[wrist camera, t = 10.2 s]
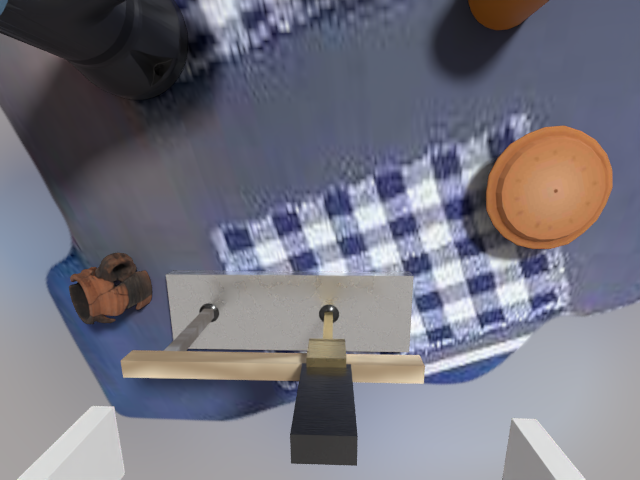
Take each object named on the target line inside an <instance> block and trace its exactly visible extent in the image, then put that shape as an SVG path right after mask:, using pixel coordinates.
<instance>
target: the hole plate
mask: <svg viewBox="0 0 640 480" xmlns="http://www.w3.org/2000/svg"><path fill="white" fill-rule="evenodd" d="M166 279H167V288H168V296H169V305H170V314H171V322H172V331H173V340H175V339H176V338H177V336H178V335H179V334H180V333H181V332H182V331H183V330H184V329H185V328H186V327H187V326H188V325H189V324H190V323H191V322H192V321H193V320H194V319H195V318H196V317H197V316H198V315H199V314H200V312H201V311H202V310H203V309H213V310H214V318H213V319H212V321H211V322H210V323H209V324H208V325H207V327H206V328H205V329H204V330H203V331H202V333H201V334H200V335H199V336H198V337H197V339H196V340H195V341H194V342H193V343H192V345H191V346H190V347H189V348H188V349H246V350H306V351H307V350H308V344H309V338H316V339H323V328H324V313H325V312H333V339H345V346H346V351H367V352H409V344H410V326H411V308H412V290H413V275H412V274H411V272H386V271H192V270H173V271H171V272H169V273H168V274H166Z"/></svg>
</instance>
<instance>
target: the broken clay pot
mask: <svg viewBox="0 0 640 480" xmlns="http://www.w3.org/2000/svg"><path fill="white" fill-rule="evenodd" d="M135 271H136V265H135V264H134V263H133V260H132V258H131V257H129V256H128V255H127V254H124V253H113V254H110V255H108V256H106V257H105V258H104V259H103V260H102V262H101V264H100V266H99V267H98V268H96V267H91V268H89V269H85V270H82V271H81V273H79V274H73V275H72V276H71V277H70V279H71V282H74V281H77V282H78V283H77V284H73V285H70V286H69V290H70V296H71V300H72V303H73V305H74V307H75V310H76V312H77V314H78V316H79V317H80V318H81V320H82V321H83V322H84V323H86V324H94V322H95V321H97V322H101V323H112V322H114V321H115V319H110V318H108V317H106V316H105V315H109V316H118V315H120V314H122V313H123V312H124V311H125V309H128V308H130V307H132V306H134V305H136V304H137V306H136V309H137V310H139V309H141V308H142V307H144V306H145V305H147V304H149V303H150V301H151V298H152V285H151V280H150V278H149V275H148V273H147V272H146V271H141V272H140V271H139V272H135ZM95 275H96V276H95ZM116 280H119V281H121V283H120V284H119V285H117V286H115V285H114V283H113V282H114V281H116Z"/></svg>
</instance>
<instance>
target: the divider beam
mask: <svg viewBox="0 0 640 480" xmlns="http://www.w3.org/2000/svg"><path fill="white" fill-rule="evenodd" d="M213 318H214V310H213V309H203V310H202V311H201V312H200V314H199V315H198V316H197V317H196V318H195V319H194V320H193V321H192V322H191V323H190V324H189V325H188V326H187V327H186V328H185V329H184V330H183V331H182V332H181V333H180V334H179V335H178V336H177V338H176V339H175V340H174V341H173V342H172V343H171V344H170V345H169V346H168V347H167V348H166V349H165V350H164V351H137V350H132V351H131V352H130V353H129V354H128V355H127V356H126V357H124V358H123V359H122V360H121V366H122V372H123V377H129V378H177V379H225V380H273V381H299V379H300V373H301V367H302V363H306V357H307V353H256V352H197V351H187V349H188V348H189V347H190V346H191V345H192V343H193V342H194V341H195V340H196V339H197V337H198V336H199V335H200V334H201V333H202V331H203V330H204V329H205V328H206V327H207V325H208V324H209V323H210V322H211V321H212V319H213ZM346 364H351V370H352V381H353V382H372V383H417V384H424V370H425V366H424V364H423V362H422V359H421V357H420V355H375V354H346Z"/></svg>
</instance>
